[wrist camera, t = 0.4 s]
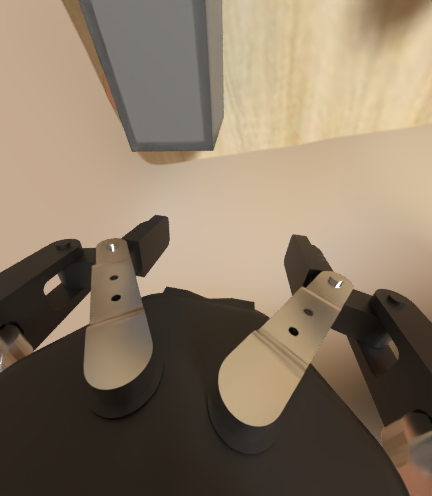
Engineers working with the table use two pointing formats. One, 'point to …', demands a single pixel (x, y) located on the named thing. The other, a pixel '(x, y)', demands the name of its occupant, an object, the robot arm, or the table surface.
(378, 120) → the table surface
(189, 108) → the console
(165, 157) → the table surface
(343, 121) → the table surface
